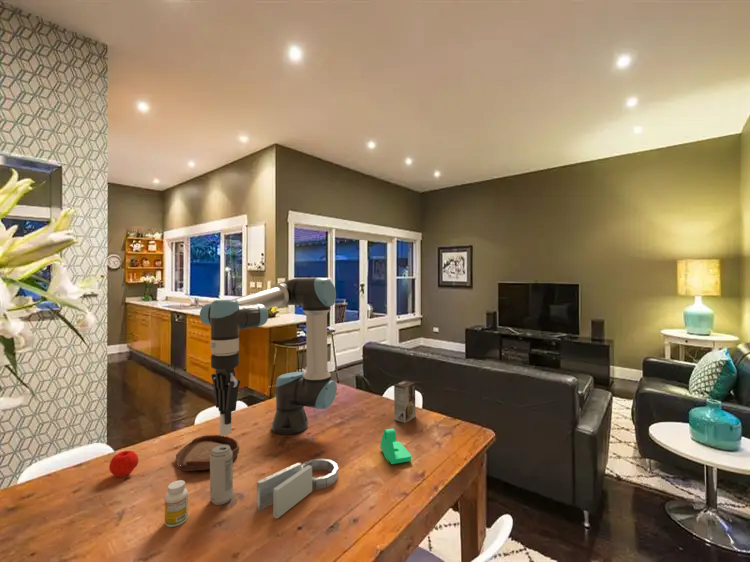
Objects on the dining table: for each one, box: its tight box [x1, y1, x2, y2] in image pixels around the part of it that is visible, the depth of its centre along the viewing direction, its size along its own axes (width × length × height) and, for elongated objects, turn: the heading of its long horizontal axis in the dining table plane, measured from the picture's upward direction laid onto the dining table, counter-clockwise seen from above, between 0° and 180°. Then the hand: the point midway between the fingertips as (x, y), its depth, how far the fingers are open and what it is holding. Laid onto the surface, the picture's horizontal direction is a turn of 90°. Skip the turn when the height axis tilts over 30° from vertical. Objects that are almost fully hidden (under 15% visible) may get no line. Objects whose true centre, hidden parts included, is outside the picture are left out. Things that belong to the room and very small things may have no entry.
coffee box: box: [393, 380, 417, 424], centre depth 161 cm, size 9×6×16 cm
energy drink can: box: [209, 445, 234, 506], centre depth 102 cm, size 6×6×15 cm
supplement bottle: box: [164, 479, 189, 528], centre depth 93 cm, size 5×5×10 cm
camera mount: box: [379, 428, 412, 465], centre depth 126 cm, size 12×8×10 cm, turn 18°
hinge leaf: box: [272, 465, 313, 519], centre depth 100 cm, size 2×14×8 cm, turn 149°
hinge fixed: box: [256, 458, 339, 511], centre depth 108 cm, size 12×27×8 cm, turn 137°
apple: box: [108, 450, 140, 478], centre depth 116 cm, size 8×8×7 cm
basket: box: [175, 434, 240, 472], centre depth 126 cm, size 22×20×5 cm
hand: (225, 433), depth 102 cm, fingers closed
